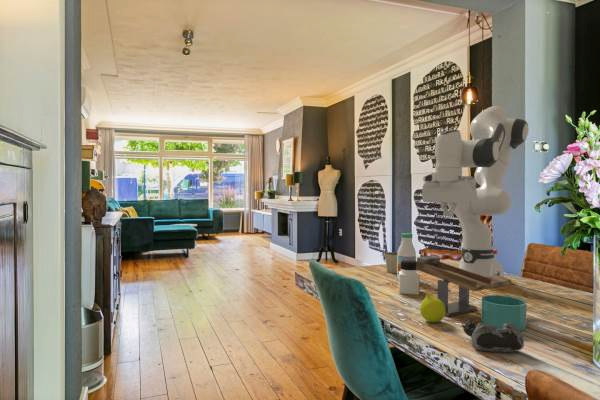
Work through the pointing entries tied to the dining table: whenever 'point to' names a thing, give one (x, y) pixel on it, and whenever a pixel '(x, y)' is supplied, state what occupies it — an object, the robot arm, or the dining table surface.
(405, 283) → the medicine bottle
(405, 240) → the milk bottle
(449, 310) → the lever stand
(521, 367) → the dining table surface
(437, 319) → the ornament
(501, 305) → the cup
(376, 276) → the dining table surface
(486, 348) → the bison figurine
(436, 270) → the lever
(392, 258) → the flower pot
